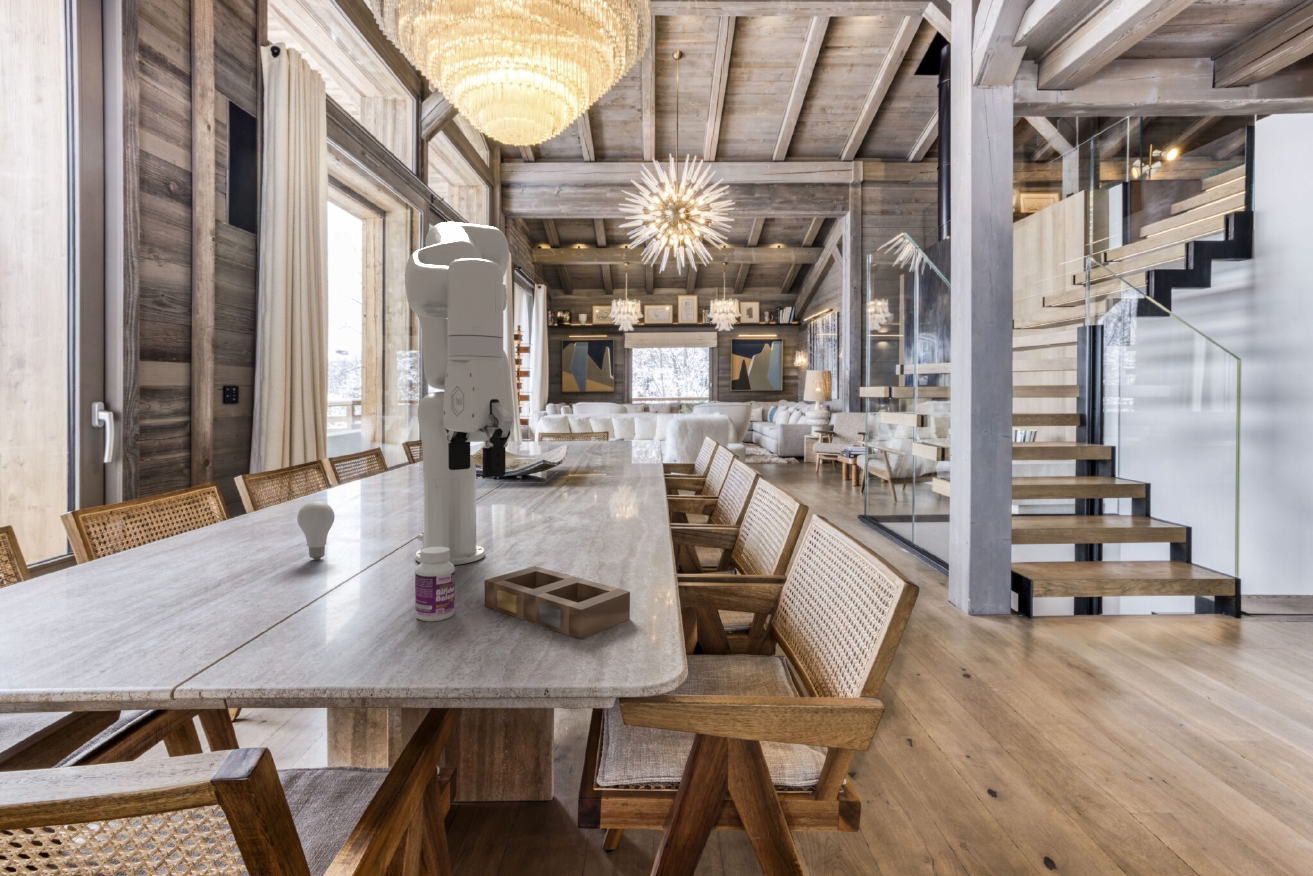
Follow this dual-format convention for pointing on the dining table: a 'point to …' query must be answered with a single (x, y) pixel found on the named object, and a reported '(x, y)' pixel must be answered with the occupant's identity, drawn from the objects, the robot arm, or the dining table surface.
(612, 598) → the socket block
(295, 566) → the dining table surface
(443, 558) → the pill bottle
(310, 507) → the lightbulb
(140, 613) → the dining table surface
